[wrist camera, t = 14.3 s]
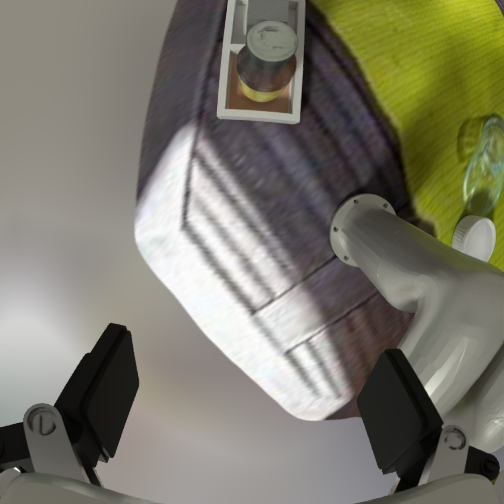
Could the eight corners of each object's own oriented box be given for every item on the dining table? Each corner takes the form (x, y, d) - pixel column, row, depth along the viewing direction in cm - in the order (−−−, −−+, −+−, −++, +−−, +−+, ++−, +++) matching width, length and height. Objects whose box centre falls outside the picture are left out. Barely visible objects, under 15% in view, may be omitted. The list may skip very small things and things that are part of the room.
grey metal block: (281, 17, 30) (289, -7, 23) (280, 42, 32) (287, 22, 24) (248, 14, 30) (249, -10, 22) (246, 40, 32) (246, 18, 24)
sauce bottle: (251, 59, 33) (256, -7, 14) (290, 76, 34) (327, 24, 15) (231, 95, 35) (217, 51, 16) (270, 113, 36) (293, 83, 18)
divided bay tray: (230, 2, 30) (229, -9, 26) (300, 8, 30) (305, -2, 26) (219, 118, 37) (216, 115, 33) (294, 124, 38) (299, 121, 34)
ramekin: (486, 232, 45) (501, 240, 40) (460, 270, 48) (474, 280, 43) (468, 199, 42) (485, 205, 37) (440, 240, 45) (455, 250, 40)
